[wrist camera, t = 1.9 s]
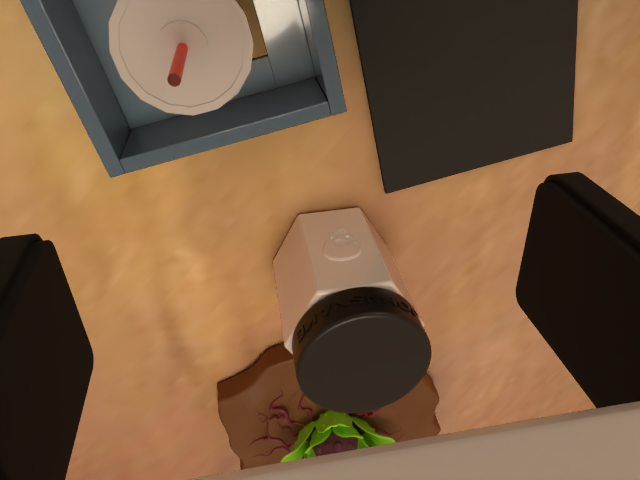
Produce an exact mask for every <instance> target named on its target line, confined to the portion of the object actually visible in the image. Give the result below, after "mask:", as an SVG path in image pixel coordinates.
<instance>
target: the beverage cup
mask: <svg viewBox="0 0 640 480" xmlns="http://www.w3.org/2000/svg"><path fill="white" fill-rule="evenodd" d="M253 44H254V43H253V39H252V35H251V32H250V28H249V25H248V21H247V17H246V14H245V12H244V11H243V9H242V8H241V7H240V5H239V4H238V3H237V1H236V0H118V1H117V3H116V6H115V8H114V10H113V13H112V15H111V18H110V20H109V51H110V54H111V56H112V58H113V61H114V63H115V65H116V68H117V70H118V72H119V75H120V77H121V79H122V80H123V81H124V82H125V83H126V84H127V85H128V86H129V87H130V88H131V89H132V91H133V92H134V93H135V94H136V95H137V96H138V97H139V98H140V99H141V100H143V101H145V102H147V103H149V104H151V105H152V106H154V107H156V108H158V109H160V110H162V111H164V112H166V113H175V114H183V115H192V116H194V115H197V114H201V113H205V112H209V111H212V110H216V109H219V108H220V107H221V106H223V105H224V104H225V103H226V102H228V101H229V100H230V99H232V98H233V97H234V96H235V95H237V94H238V93H239V91H240V89H241V87H242V85H243V84H244V82H245V80H246V78H247V76H248V75H249V73H250V71H251V63H252V54H253Z"/></svg>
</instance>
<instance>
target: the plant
mask: <svg viewBox="0 0 640 480" xmlns="http://www.w3.org/2000/svg"><path fill="white" fill-rule="evenodd" d="M217 390H218V411H219V416H220V419H221V421H222V423H223V425H224V427H225V429H226V431H227V433H228V435H229V443H230V447H231V449H232V450H233V451H234V453H235V454H236V455H237V456H238V457H239V458H240V467H241V470H243V469H249V468H254V467H260V466H266V465H271V464H277V463H282V462H288V461H293V460H299V459H305V458H310V457H316V456H322V455H327V454H333V453H339V452H345V451H350V450H356V449H362V448H368V447H373V446H379V445H385V444H390V443H396V442H402V441H408V440H413V439H419V438H425V437H431V436H436V435H437V434H438V433H439V432H440V431H441V429H440V426H439V424H438V421H437V419H436V416H435V414H434V411H435V408H436V406H437V404H438V402H439V396H438V392H437V390H436V388H435V385H434V383H433V381H432V380H431V378H430V377H429V376H428V375H427V374H426V373H425V375H424V377H423V378H422V380H421V381H420V382H419V384H418V385H417V386H416V387H415V388H414V389H413V390H412V391H411V392H409V393H408V394H407V395H405V396H404V397H402V398H401V399H399V400H398V401H396V402H394V403H392V404H390V405H387V406H385V407H382V408H379V409H376V410H372V411H367V412H361V413H341V412H335V411H331V410H327V409H324V408H322V407H320V406H318V405H316V404H315V403H313V402H312V401H310V400H309V399H308V398H307V397H306V396H305V395H304V394H303V392H302V391H301V389H300V387H299V385H298V382H297V378H296V372H295V365H294V359H293V355H292V354H291V353H290V352H289V351H288V350H287V349H286V348H285V346H284V344H282V345H278V346H275V347H273V348H271V349H269V350H267V351H266V352H265V353H264V354H263V355H262V357H261V358H260V359H259V360H258V362H257V363H256V364H255V365H254V366H252V367H251V368H250V369H248V370H246V371H244V372H242V373H240V374H238V375H236V376H234V377H232V378H230V379H227V380H225V381H223V382H220V383H218V384H217Z"/></svg>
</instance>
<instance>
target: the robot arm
mask: <svg viewBox="0 0 640 480" xmlns="http://www.w3.org/2000/svg"><path fill="white" fill-rule="evenodd" d="M516 298H517V301H518V304H519V306H520V307H521V309H522V310H523V311H524V312H525V314H526V315H527V316H528V318H529V319H530V320H531V322H532V323H533V324H534V326H535V327H536V328H537V330H538V331H539V332H540V334H541V335H542V336H543V338H544V339H545V340H546V342H547V343H548V344H549V346H550V347H551V348H552V349H553V351H554V352H555V353H556V355H557V356H558V357H559V359H560V360H561V361H562V363H563V364H564V365H565V367H566V368H567V369H568V371H569V372H570V373H571V375H572V376H573V377H574V379H575V380H576V381H577V383H578V384H579V385H580V386H581V388H582V389H583V390H584V392H585V393H586V394H587V396H588V397H589V398H590V400H591V401H592V402H593V404H594V405H595V406H596V409H590V410H584V411H578V412H572V413H566V414H560V415H554V416H548V417H542V418H536V419H530V420H524V421H518V422H512V423H506V424H500V425H495V426H489V427H483V428H477V429H471V430H466V431H460V432H454V433H448V434H442V435H437V436H431V437H425V438H419V439H413V440H408V441H402V442H396V443H390V444H385V445H379V446H373V447H368V448H362V449H356V450H350V451H345V452H339V453H333V454H327V455H322V456H316V457H310V458H305V459H299V460H293V461H288V462H282V463H277V464H271V465H266V466H260V467H254V468H249V469H243V470H238V471H232V472H226V473H221V474H215V475H210V476H204V477H198V478H193V479H187V480H640V216H639V215H637V214H636V213H635V212H633V211H632V210H631V209H629V208H628V207H627V206H625V205H624V204H623V203H621V202H620V201H619V200H617V199H616V198H614V197H613V196H612V195H610V194H609V193H608V192H606V191H605V190H604V189H602V188H601V187H600V186H598V185H597V184H596V183H594V182H593V181H592V180H590V179H589V178H588V177H586V176H585V175H583V174H582V173H580V172H573V173H564V174H555V175H550V176H548V177H547V178H546V179H545V181H544V183H541V184H540V185H539V186H538V187H537V190H536V194H535V199H534V204H533V208H532V213H531V218H530V223H529V228H528V233H527V237H526V242H525V247H524V252H523V257H522V262H521V266H520V271H519V276H518V281H517V286H516ZM92 370H93V351H92V348H91V345H90V342H89V339H88V337H87V334H86V331H85V329H84V326H83V323H82V320H81V318H80V315H79V312H78V309H77V307H76V304H75V301H74V298H73V296H72V293H71V290H70V287H69V285H68V282H67V279H66V276H65V274H64V271H63V268H62V266H61V263H60V260H59V257H58V255H57V252H56V249H55V247H54V245H53V243H52V242H51V241H50V240H46V241H43V240H42V239H41V237H40V236H39V235H37V234H28V235H19V236H11V237H3V238H0V480H65V477H66V473H67V469H68V465H69V461H70V457H71V453H72V449H73V445H74V441H75V438H76V434H77V430H78V426H79V422H80V418H81V414H82V410H83V406H84V402H85V398H86V394H87V390H88V386H89V382H90V378H91V374H92Z"/></svg>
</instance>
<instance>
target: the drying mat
mask: <svg viewBox="0 0 640 480" xmlns="http://www.w3.org/2000/svg"><path fill="white" fill-rule="evenodd" d="M350 6H351V11H352V17H353V22H354V27H355V33H356V38H357V44H358V49H359V55H360V60H361V65H362V71H363V76H364V82H365V87H366V92H367V98H368V103H369V109H370V114H371V120H372V125H373V130H374V136H375V141H376V147H377V152H378V157H379V163H380V168H381V174H382V179H383V185H384V190H385V193H386V194H387V193H391V192H394V191H398V190H401V189H405V188H408V187H412V186H415V185H419V184H423V183H426V182H430V181H433V180H437V179H440V178H444V177H447V176H451V175H455V174H458V173H462V172H465V171H469V170H472V169H476V168H479V167H483V166H487V165H490V164H494V163H497V162H501V161H504V160H508V159H511V158H515V157H518V156H522V155H526V154H529V153H533V152H536V151H540V150H543V149H547V148H550V147H554V146H558V145H561V144H565V143H568V142H572V135H573V110H574V86H575V61H576V36H577V12H578V0H350Z"/></svg>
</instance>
